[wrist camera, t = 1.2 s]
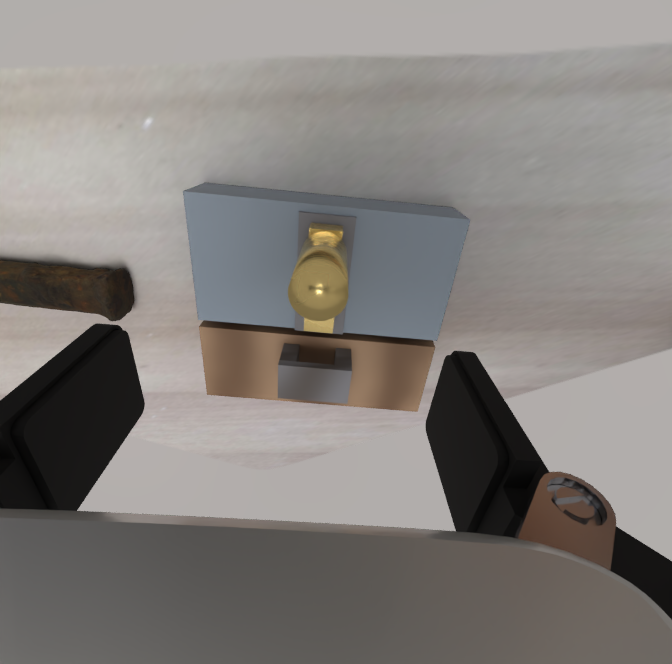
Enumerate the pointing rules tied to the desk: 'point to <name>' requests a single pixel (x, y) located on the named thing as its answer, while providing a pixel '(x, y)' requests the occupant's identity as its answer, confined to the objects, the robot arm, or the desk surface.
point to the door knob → (320, 278)
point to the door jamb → (314, 366)
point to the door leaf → (285, 246)
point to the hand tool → (67, 288)
